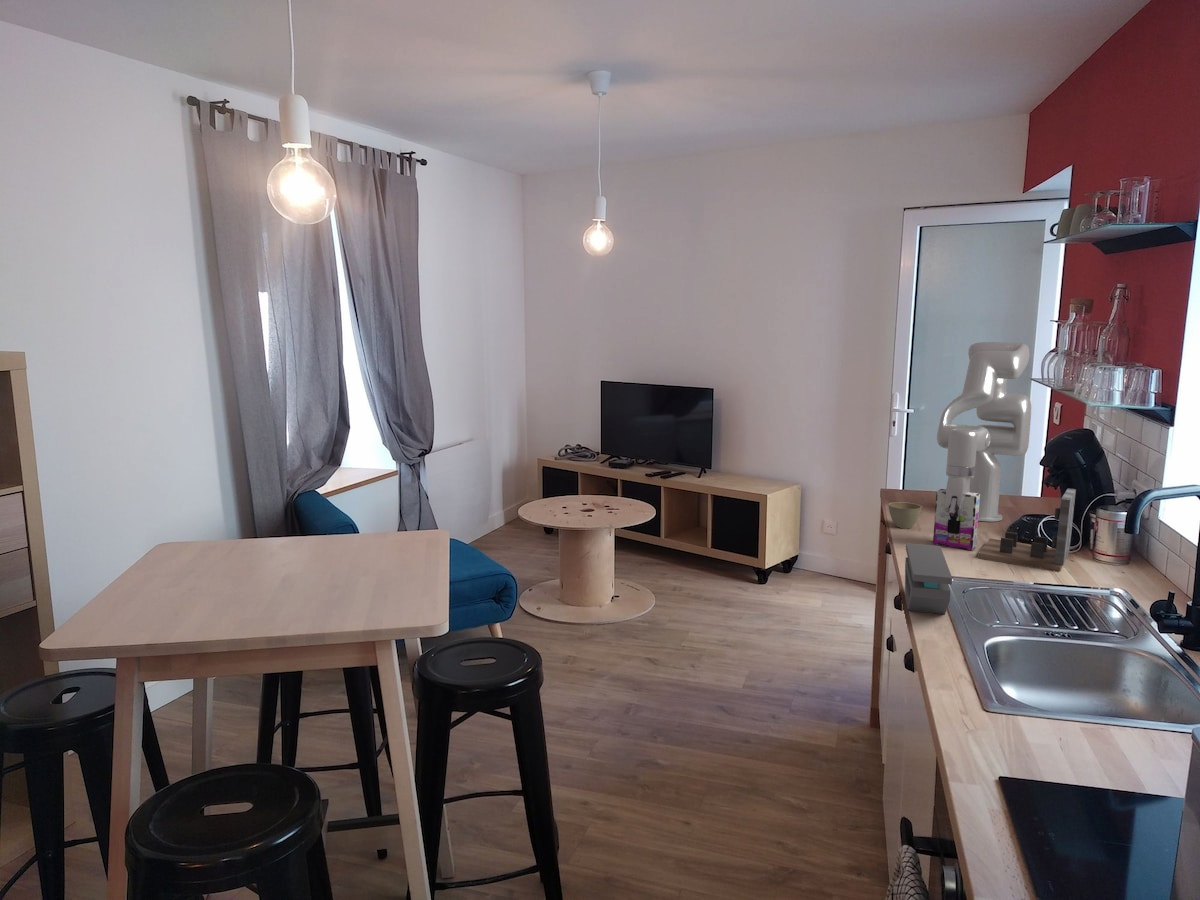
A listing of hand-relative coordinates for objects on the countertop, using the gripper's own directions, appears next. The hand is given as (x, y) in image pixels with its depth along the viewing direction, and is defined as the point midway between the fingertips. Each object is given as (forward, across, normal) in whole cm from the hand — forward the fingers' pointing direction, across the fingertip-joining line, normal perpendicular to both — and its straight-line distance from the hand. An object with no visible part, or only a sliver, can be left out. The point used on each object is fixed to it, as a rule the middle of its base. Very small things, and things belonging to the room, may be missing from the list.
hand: (955, 530), depth 226 cm
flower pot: (+5, -13, -18) cm, 23 cm away
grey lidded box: (+5, +55, +5) cm, 55 cm away
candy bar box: (+5, 0, 0) cm, 5 cm away
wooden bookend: (+5, 0, +18) cm, 19 cm away
